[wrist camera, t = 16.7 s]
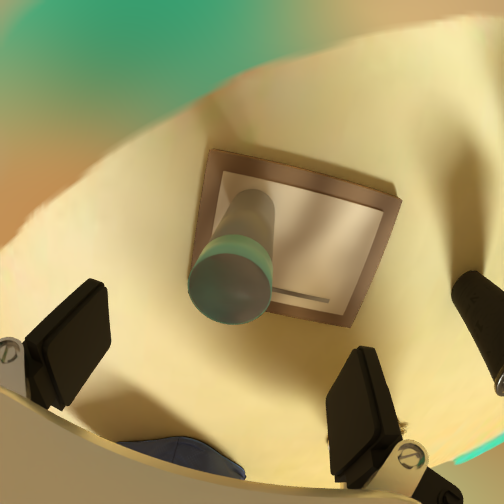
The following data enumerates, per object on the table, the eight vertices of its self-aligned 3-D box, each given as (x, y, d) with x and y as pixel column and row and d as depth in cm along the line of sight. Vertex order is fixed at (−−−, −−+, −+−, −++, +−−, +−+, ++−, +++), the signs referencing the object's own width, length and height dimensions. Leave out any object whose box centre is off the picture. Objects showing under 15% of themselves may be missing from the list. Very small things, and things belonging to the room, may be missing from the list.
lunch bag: (161, 480, 57) (143, 541, 39) (99, 441, 51) (69, 507, 33) (260, 472, 48) (251, 556, 30) (190, 428, 42) (162, 533, 23)
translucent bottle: (280, 191, 24) (281, 263, 12) (270, 232, 25) (261, 331, 14) (235, 181, 24) (192, 243, 12) (227, 223, 25) (184, 313, 14)
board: (397, 196, 24) (403, 201, 23) (348, 321, 30) (350, 329, 29) (212, 148, 24) (208, 150, 23) (191, 287, 30) (187, 294, 29)
